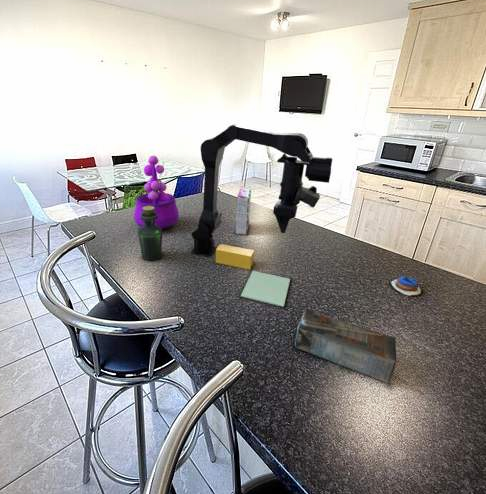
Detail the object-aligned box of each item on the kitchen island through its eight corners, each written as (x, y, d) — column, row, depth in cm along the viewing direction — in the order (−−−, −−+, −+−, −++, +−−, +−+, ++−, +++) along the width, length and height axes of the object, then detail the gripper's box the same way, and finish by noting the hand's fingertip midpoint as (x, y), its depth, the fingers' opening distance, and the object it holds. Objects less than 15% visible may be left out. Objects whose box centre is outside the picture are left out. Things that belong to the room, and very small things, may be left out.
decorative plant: (126, 229, 122) (118, 157, 110) (150, 214, 138) (146, 150, 125) (165, 238, 115) (161, 162, 103) (186, 221, 131) (185, 153, 119)
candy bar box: (237, 223, 130) (240, 188, 123) (249, 224, 129) (251, 189, 123) (234, 234, 120) (236, 195, 113) (246, 235, 119) (249, 197, 113)
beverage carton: (301, 326, 72) (305, 304, 69) (390, 358, 64) (398, 335, 61) (293, 348, 66) (297, 325, 63) (390, 386, 57) (400, 362, 55)
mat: (240, 296, 82) (240, 295, 82) (252, 271, 94) (252, 270, 94) (283, 307, 78) (283, 306, 78) (290, 279, 90) (290, 278, 90)
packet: (215, 262, 99) (215, 249, 97) (219, 256, 103) (220, 243, 101) (249, 269, 95) (251, 256, 93) (253, 263, 99) (254, 250, 97)
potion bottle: (165, 260, 100) (163, 211, 92) (141, 263, 97) (136, 213, 90) (161, 249, 107) (159, 202, 99) (139, 252, 104) (134, 204, 97)
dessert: (405, 295, 83) (402, 274, 84) (387, 295, 89) (385, 275, 91) (429, 295, 84) (426, 274, 86) (410, 295, 91) (407, 275, 92)
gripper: (319, 190, 75) (309, 244, 81) (321, 174, 91) (313, 220, 97) (276, 185, 79) (269, 237, 85) (285, 170, 94) (279, 215, 101)
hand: (285, 227), depth 92 cm, fingers open, 9 cm apart
